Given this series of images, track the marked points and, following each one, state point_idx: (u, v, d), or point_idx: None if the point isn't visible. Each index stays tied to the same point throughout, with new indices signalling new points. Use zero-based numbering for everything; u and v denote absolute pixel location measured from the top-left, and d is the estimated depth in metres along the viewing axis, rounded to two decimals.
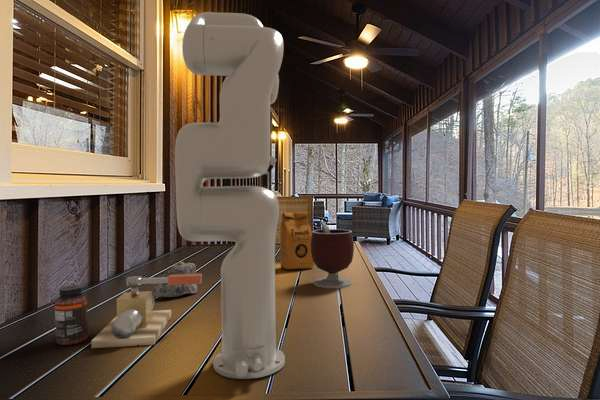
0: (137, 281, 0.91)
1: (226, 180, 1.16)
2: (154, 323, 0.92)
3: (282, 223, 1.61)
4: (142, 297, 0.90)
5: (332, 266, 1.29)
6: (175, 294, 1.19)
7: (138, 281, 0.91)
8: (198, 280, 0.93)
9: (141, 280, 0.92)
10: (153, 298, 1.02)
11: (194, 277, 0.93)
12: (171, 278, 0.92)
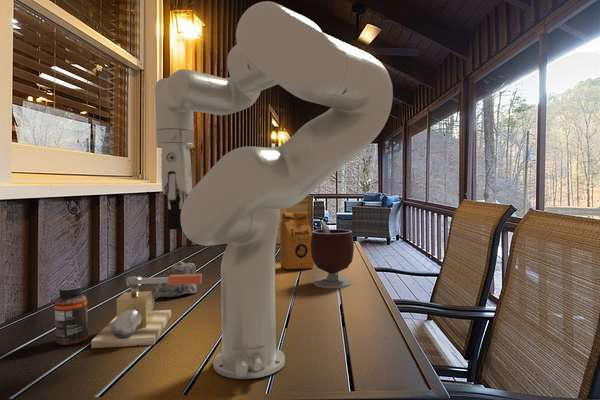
0: (137, 281, 0.91)
1: (179, 217, 0.86)
2: (154, 323, 0.92)
3: (282, 223, 1.61)
4: (142, 297, 0.90)
5: (332, 266, 1.29)
6: (174, 294, 1.19)
7: (138, 281, 0.91)
8: (198, 280, 0.93)
9: (141, 280, 0.92)
10: (153, 298, 1.02)
11: (194, 277, 0.93)
12: (171, 278, 0.92)
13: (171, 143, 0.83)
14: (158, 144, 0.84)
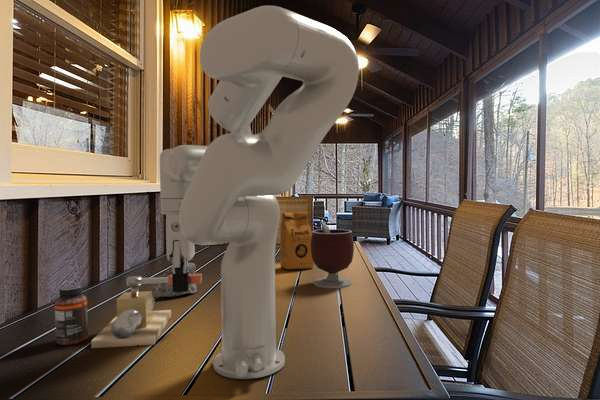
0: (137, 281, 0.91)
1: (183, 281, 0.89)
2: (154, 323, 0.92)
3: (282, 223, 1.61)
4: (142, 297, 0.90)
5: (332, 266, 1.29)
6: (174, 294, 1.19)
7: (138, 281, 0.91)
8: (198, 280, 0.93)
9: (141, 280, 0.92)
10: (153, 298, 1.02)
11: (194, 277, 0.93)
12: (171, 278, 0.92)
13: (175, 212, 0.86)
14: (163, 212, 0.87)
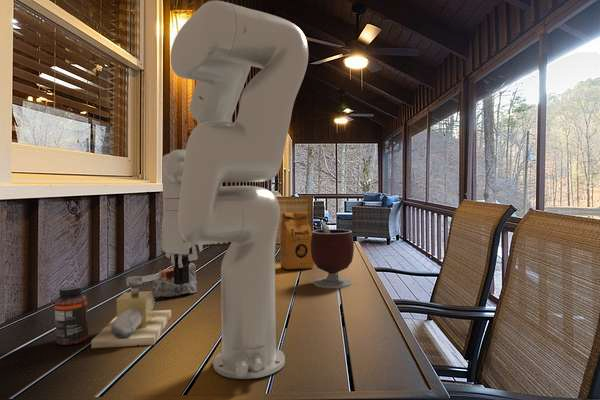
0: (141, 280, 0.93)
1: None
2: (154, 323, 0.92)
3: (282, 223, 1.61)
4: (142, 297, 0.90)
5: (332, 266, 1.29)
6: (173, 294, 1.19)
7: (142, 280, 0.93)
8: None
9: (143, 278, 0.93)
10: (153, 298, 1.02)
11: None
12: (168, 272, 0.98)
13: None
14: (175, 211, 0.95)
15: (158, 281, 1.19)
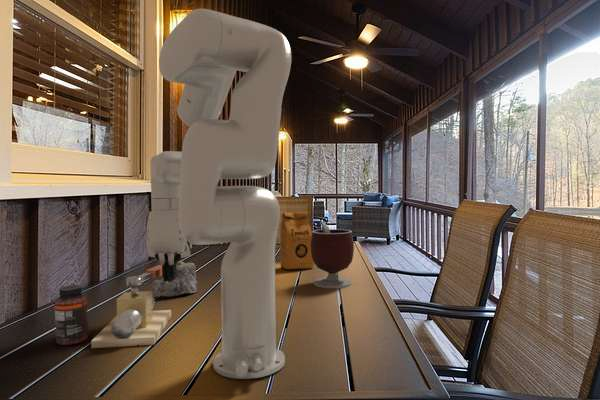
0: None
1: None
2: (154, 323, 0.92)
3: (282, 223, 1.61)
4: (142, 297, 0.90)
5: (332, 266, 1.29)
6: (173, 294, 1.19)
7: None
8: None
9: (141, 278, 0.94)
10: (153, 298, 1.02)
11: None
12: (157, 271, 1.00)
13: None
14: (170, 210, 0.98)
15: (158, 281, 1.20)
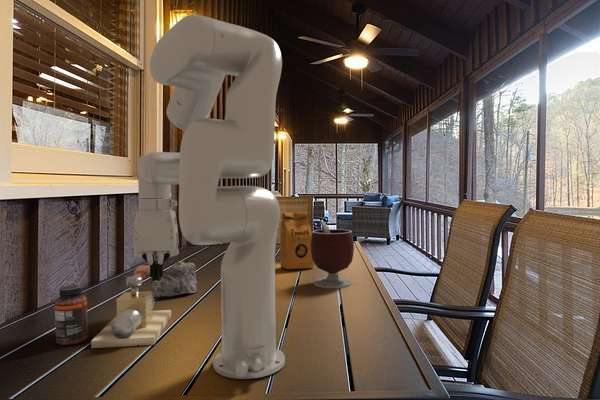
0: None
1: None
2: (154, 323, 0.92)
3: (282, 223, 1.61)
4: (142, 297, 0.90)
5: (332, 266, 1.29)
6: (173, 293, 1.19)
7: None
8: (149, 269, 1.06)
9: None
10: (153, 298, 1.02)
11: (149, 267, 1.06)
12: (146, 271, 1.01)
13: (170, 209, 1.03)
14: (162, 210, 1.00)
15: (158, 281, 1.20)
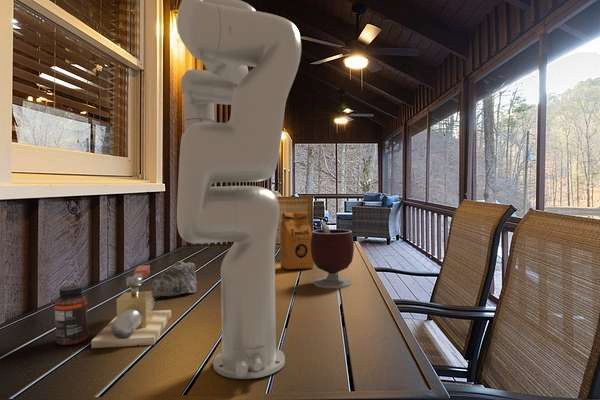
0: None
1: None
2: (154, 323, 0.92)
3: (282, 223, 1.61)
4: (142, 297, 0.90)
5: (332, 266, 1.29)
6: (172, 293, 1.20)
7: None
8: (149, 269, 1.06)
9: None
10: (153, 298, 1.02)
11: (149, 267, 1.06)
12: (146, 271, 1.01)
13: None
14: None
15: (157, 281, 1.20)
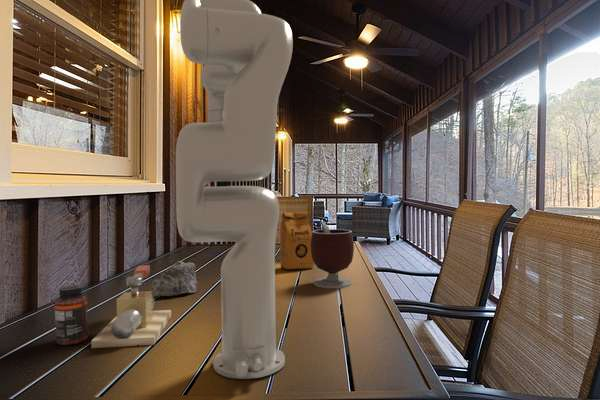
0: None
1: None
2: (154, 323, 0.92)
3: (282, 223, 1.61)
4: (142, 297, 0.90)
5: (332, 266, 1.29)
6: (172, 293, 1.20)
7: None
8: (149, 269, 1.06)
9: None
10: (153, 298, 1.02)
11: (149, 267, 1.06)
12: (146, 271, 1.01)
13: None
14: None
15: (157, 280, 1.20)
